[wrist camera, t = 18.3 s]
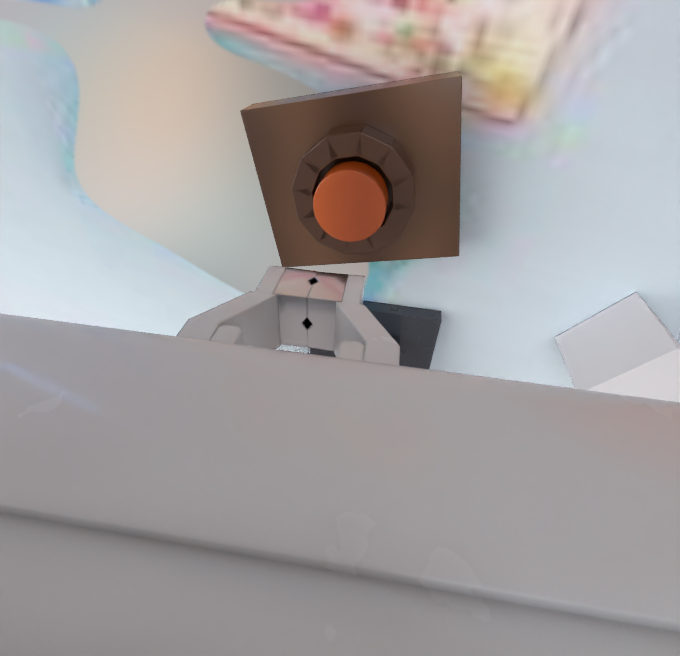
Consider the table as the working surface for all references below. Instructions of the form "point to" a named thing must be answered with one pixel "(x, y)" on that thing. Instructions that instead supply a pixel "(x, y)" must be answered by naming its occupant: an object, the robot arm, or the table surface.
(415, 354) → the switch bracket
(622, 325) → the light grey cube
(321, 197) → the switch button
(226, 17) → the table surface
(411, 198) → the switch box
